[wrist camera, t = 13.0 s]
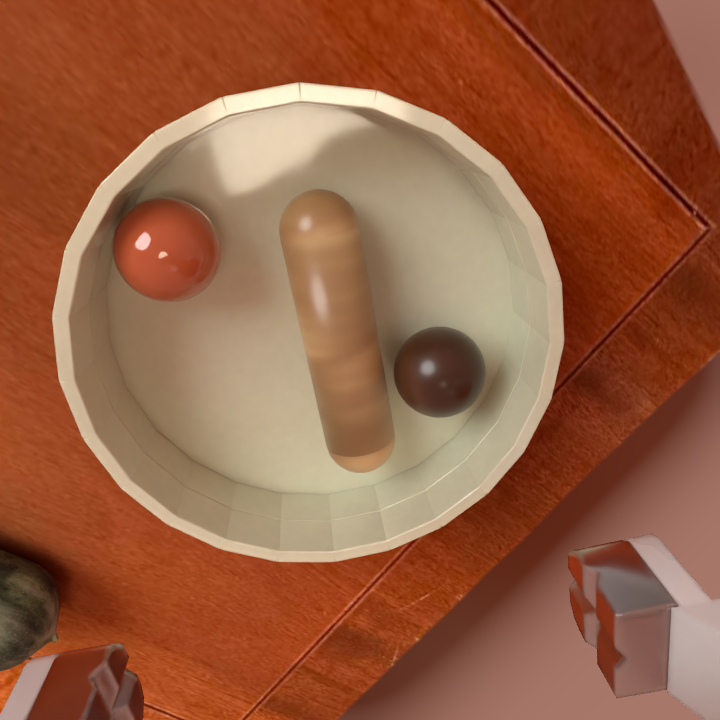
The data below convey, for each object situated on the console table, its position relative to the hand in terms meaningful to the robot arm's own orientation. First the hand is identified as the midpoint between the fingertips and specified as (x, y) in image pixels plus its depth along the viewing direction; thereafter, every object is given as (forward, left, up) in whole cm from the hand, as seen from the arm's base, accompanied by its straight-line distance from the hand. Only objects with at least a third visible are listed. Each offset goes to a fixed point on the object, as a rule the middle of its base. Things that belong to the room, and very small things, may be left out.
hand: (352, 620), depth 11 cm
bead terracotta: (+2, -7, -15) cm, 17 cm away
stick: (+1, 0, -17) cm, 17 cm away
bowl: (0, 0, -18) cm, 18 cm away
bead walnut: (-3, +5, -15) cm, 16 cm away
